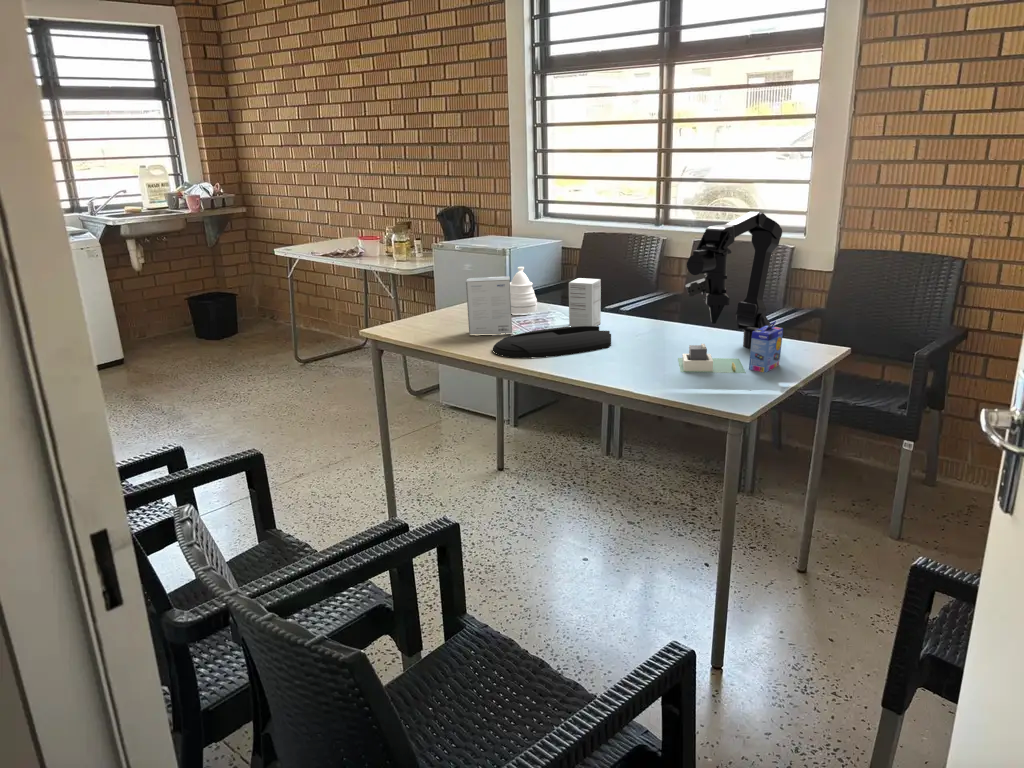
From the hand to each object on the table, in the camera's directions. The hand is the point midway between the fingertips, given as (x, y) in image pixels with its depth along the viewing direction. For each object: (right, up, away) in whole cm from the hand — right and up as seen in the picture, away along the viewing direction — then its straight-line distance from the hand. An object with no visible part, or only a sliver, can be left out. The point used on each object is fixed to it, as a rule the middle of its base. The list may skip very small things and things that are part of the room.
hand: (713, 323), depth 223 cm
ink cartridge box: (+13, -14, -6) cm, 20 cm away
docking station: (-47, -6, +28) cm, 55 cm away
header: (-6, -13, -4) cm, 15 cm away
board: (-2, -13, -2) cm, 14 cm away
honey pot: (-56, +11, +81) cm, 99 cm away
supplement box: (-33, +3, +55) cm, 64 cm away
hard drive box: (-67, 0, +48) cm, 83 cm away
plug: (-6, -13, -4) cm, 15 cm away
